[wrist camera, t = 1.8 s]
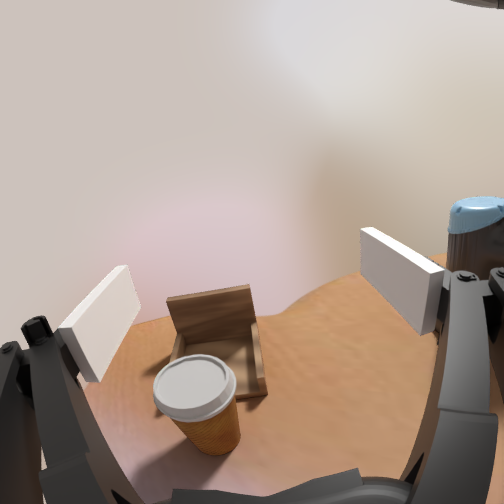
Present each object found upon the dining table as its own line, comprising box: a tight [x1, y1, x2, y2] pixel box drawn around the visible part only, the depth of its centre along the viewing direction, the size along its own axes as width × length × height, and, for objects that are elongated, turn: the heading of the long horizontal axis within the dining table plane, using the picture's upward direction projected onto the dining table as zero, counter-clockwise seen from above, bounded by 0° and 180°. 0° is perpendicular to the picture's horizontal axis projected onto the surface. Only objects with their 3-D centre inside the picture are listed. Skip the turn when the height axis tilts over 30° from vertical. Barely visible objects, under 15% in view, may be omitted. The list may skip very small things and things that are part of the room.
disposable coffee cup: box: [153, 354, 241, 455], centre depth 29 cm, size 10×10×12 cm
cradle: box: [166, 284, 268, 399], centre depth 43 cm, size 16×15×11 cm
